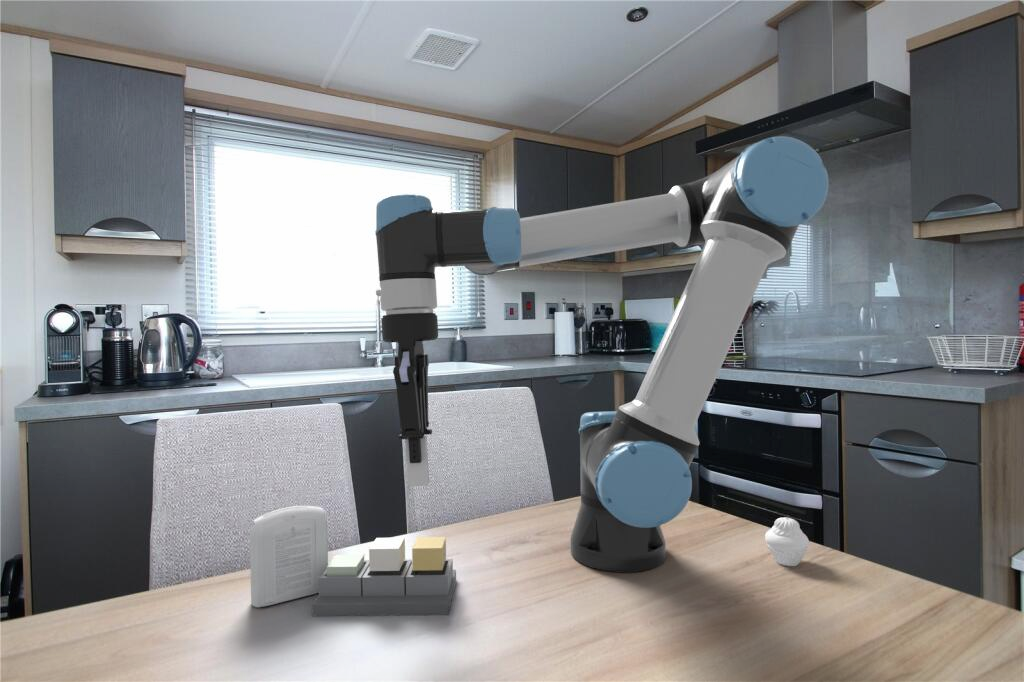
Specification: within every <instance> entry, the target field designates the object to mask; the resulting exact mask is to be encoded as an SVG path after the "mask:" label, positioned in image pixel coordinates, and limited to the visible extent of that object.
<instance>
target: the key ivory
mask: <svg viewBox="0 0 1024 682" xmlns="http://www.w3.org/2000/svg"><path fill="white" fill-rule="evenodd" d="M405 540H406V537H404V536H403V537H376V538H375V540H374V541H373V543H372V544H371V545H370V547H369V548H368V558H369V559H368V560H369V566H370V571H399V570H400V568H401V566H402V564H403V562H404V560H406V541H405Z"/></svg>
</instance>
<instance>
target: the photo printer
mask: <svg viewBox="0 0 1024 682" xmlns="http://www.w3.org/2000/svg"><path fill="white" fill-rule="evenodd" d="M328 534H329V533H328V519H327V516H326V511H325V509H323V507H321V506H316V505H315V506H314V505H294V506H292V505H291V506H287V507H282V508H277V509H275V510H272V511H269V512H267V513H264V514H262V515H260V516H257V517H256V518H254V519H253V520H252V522H251V529H250V533H249V549H250V551H249V552H250V553H249V556H250V557H249V559H250V561H249V562H250V567H249V568H250V603H251V604H250V605H252V607H254V608H261V607H262V608H263V607H268V606H272V605H276V604H279V603H284V602H288V601H292V600H296V599H300V598H304V597H307V596H312V595H315V594H319V577H320V576H321V574H322V573H323V572H324V571H325V569H326V568H327V566H328V564H329V548H328V546H329V544H328V542H329V539H328Z"/></svg>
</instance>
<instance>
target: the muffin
mask: <svg viewBox="0 0 1024 682" xmlns="http://www.w3.org/2000/svg"><path fill="white" fill-rule="evenodd" d="M773 523H774V524H773V526H772V527H771V528H770V529H769V530H767V532H765V536H764V539H765V542H766V545H767V548H768V549H769V551H770V553H771V555H772V557H773V559H774V561H775V562H776V563H777V564H780V565H781V566H786V567H795V566H798V565H799V564H800V562H801V561H802V559H803V558H804V556H805V555H806V553H807V551H808V549H809V545H810V541H809V538H808V536H807V535H806V534H805V533H804V532H803V531H802V529H801V528H800V526H801V525H800V523H799V522H798V521H797V520H795V519H793V518H791V517H785V516H784V517H779V518H777V519H775V521H774V522H773Z"/></svg>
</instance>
